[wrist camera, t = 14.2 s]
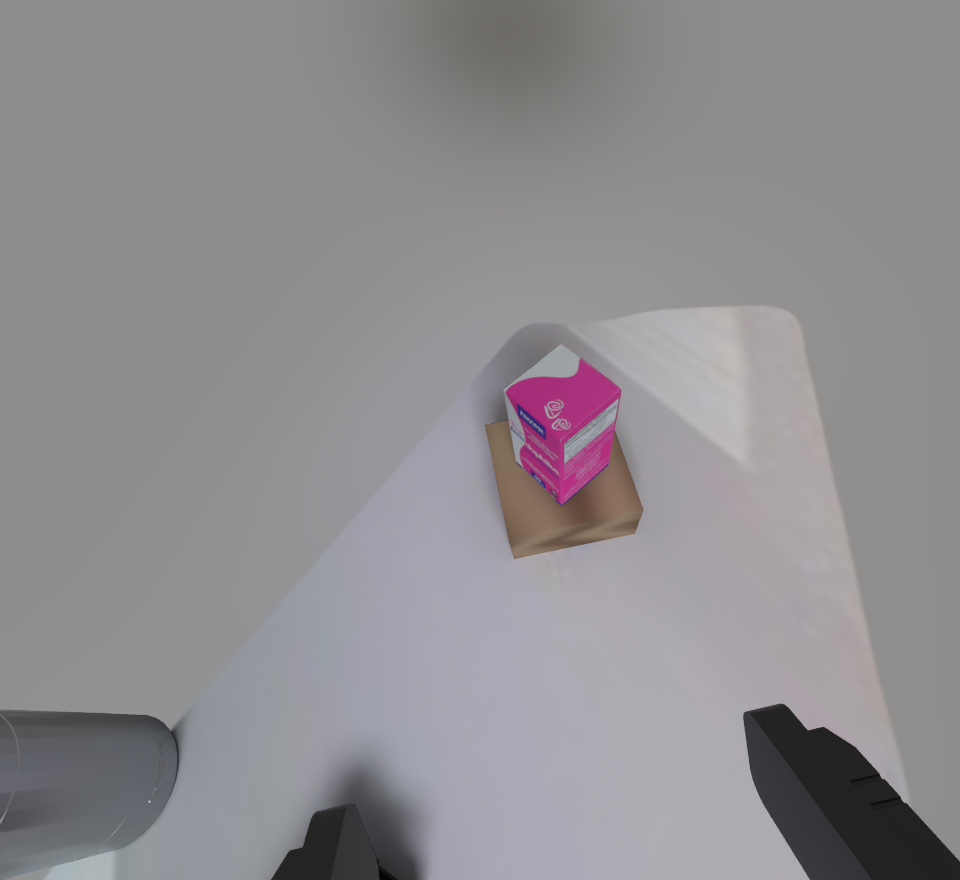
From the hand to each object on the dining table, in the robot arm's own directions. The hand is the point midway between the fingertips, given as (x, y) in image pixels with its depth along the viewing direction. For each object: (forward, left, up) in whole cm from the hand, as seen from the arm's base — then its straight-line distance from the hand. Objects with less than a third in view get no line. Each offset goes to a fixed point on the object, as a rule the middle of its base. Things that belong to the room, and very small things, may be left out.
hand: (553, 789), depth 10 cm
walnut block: (+6, +20, -33) cm, 39 cm away
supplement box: (+6, +20, -27) cm, 34 cm away
